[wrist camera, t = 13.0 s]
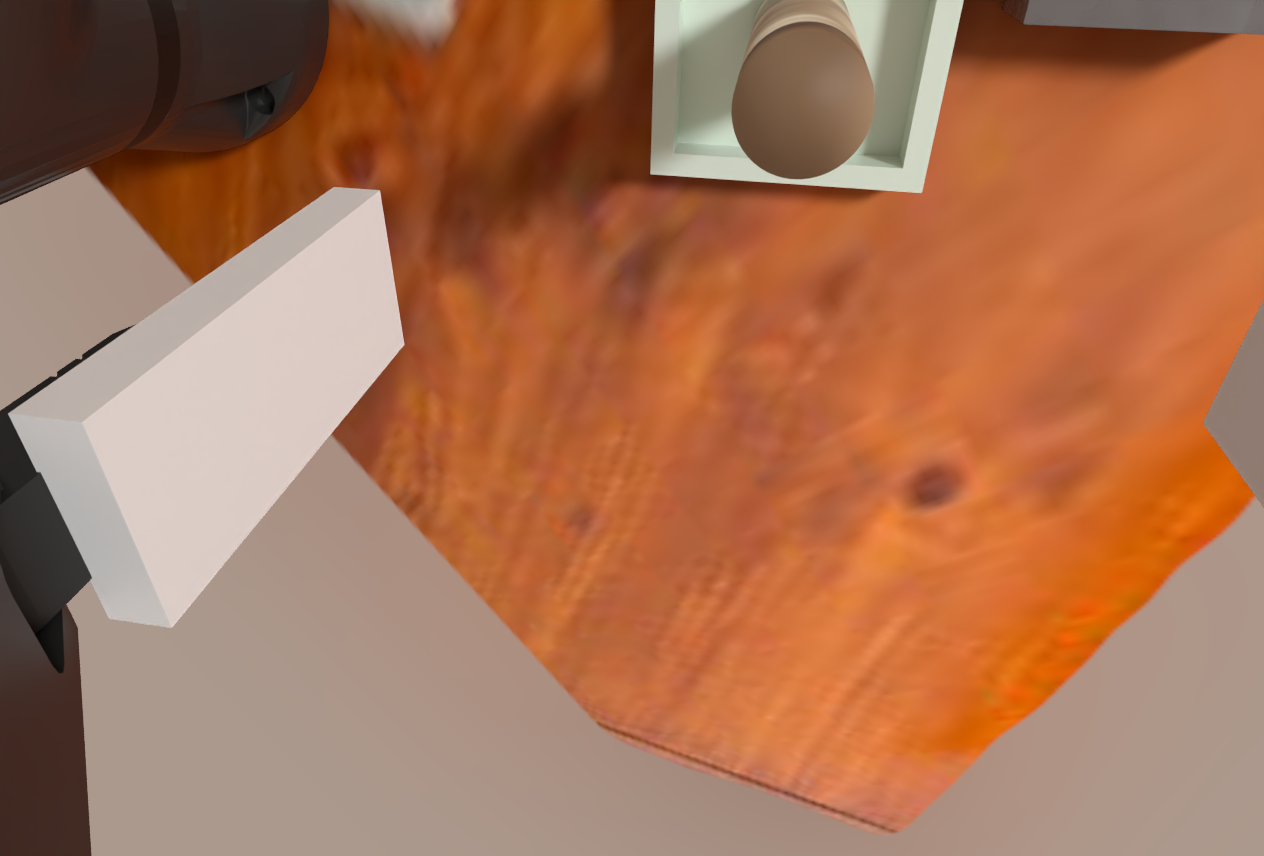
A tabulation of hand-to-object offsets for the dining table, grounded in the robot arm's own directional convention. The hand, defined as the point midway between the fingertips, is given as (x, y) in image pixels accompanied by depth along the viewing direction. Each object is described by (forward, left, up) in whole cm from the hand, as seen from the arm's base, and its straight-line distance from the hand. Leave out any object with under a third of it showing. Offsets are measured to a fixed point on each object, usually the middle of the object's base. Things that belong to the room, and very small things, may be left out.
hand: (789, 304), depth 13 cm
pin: (0, 0, -27) cm, 27 cm away
